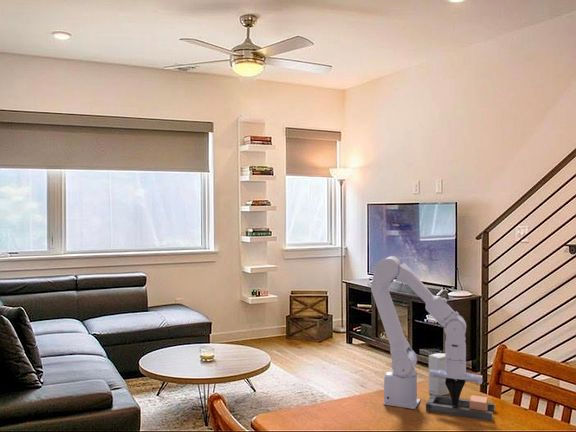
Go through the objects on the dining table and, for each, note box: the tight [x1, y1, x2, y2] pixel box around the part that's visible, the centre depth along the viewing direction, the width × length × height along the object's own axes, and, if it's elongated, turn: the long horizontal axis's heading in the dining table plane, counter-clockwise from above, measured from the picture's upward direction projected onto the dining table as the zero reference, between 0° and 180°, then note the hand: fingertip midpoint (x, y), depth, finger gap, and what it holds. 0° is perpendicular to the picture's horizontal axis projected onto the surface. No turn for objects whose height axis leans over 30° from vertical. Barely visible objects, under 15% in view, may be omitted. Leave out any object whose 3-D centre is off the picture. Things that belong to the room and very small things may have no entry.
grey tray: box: [425, 394, 496, 422], centre depth 158 cm, size 18×9×2 cm, turn 65°
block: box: [469, 394, 489, 411], centre depth 156 cm, size 4×5×4 cm
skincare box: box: [428, 352, 450, 396], centre depth 173 cm, size 6×4×12 cm
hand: (455, 404), depth 158 cm, fingers closed
